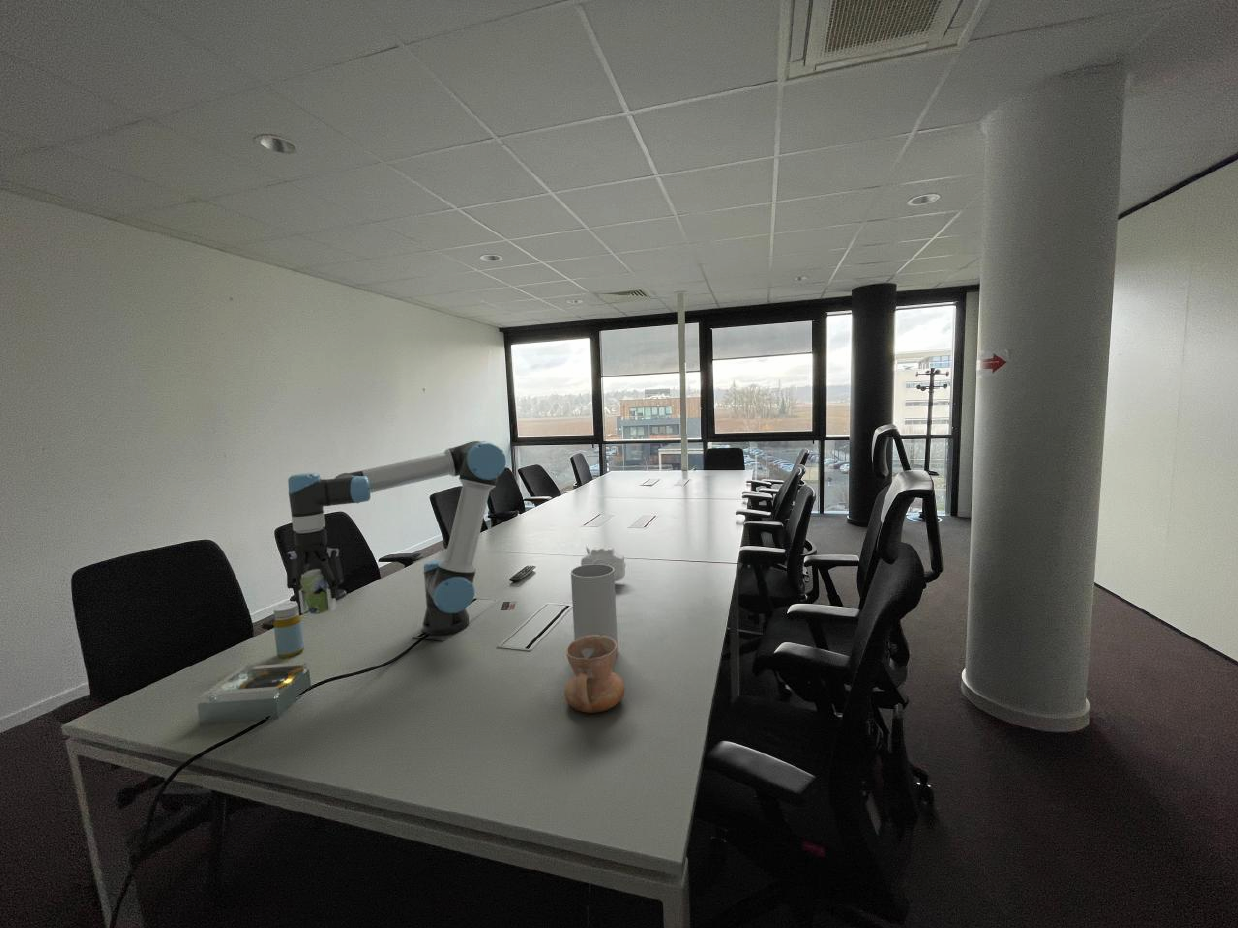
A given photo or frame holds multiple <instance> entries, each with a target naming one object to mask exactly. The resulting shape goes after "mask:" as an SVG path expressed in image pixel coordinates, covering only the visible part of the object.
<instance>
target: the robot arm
mask: <svg viewBox="0 0 1238 928" xmlns="http://www.w3.org/2000/svg"><path fill="white" fill-rule="evenodd" d="M506 461H507V460H506V456H505V453H504V451H503V450H502V448H500V446H499V445H497V444H495V443H494V442H491V441H485V440H481V441H479V440H475V441H469V442H466V443H464V444H463V443H462V444H461V445H458V446H454V447H449V448H446V449H445V450H444V451H443V452H442V453H436V454H432V455H427V456H422V457H417V458H413V459H408V460H404V461H399V462H395V463H390V464H385V465H381V466H376V467H372V468H371V467H370V468H367V469H362V470H358V471H357V470H356V471H353V472H344V473H341V474H340V473H339V474H338V475H337V476H335V477H334V478H329V479H325V478H323V479H322V478H321V476H320V473H318V472H311V473H310V472H309V473H299V474H293V475H290V476H289V477H288V479H287V482H288V485H287V486H288V497H289V503H290V504H289V505H290V511H291V521H292V530H293V531H294V534H293V537H294V545H295V546H296V547H295V550H294V551H292V550H291V551H289V552H287V553H285V554H284V558H285V561H286V587H287V588H288V589H294V590H295V596H296V601H297V602H299V606H300V614H305V613H306V612H309V609H308V606H307V603H306V599H305V596H304V593H303V589H302V586H301V583H300V579H301V575H303V574H304V573H305V572H307V571H309V566H310V565H311V564H315V565H316V567H319V568H318V569H320V570H321V572H322V574H323V575H324V577H325V579H326V581H327V583H328V586H329V587H328V588H327V589H326V591H327V600H328V609H329V610H328V612H332V611H334V610H335V609H336V608H337V600H336V599H337V597H338V596H339V591H338V586H339V585H340V584H341V585H342V583H344V582H345V578H344V574H343V573H344V572H343V569H342V565H341V560H340V552H341V549H340V548H339V547H337V548H330V547H329V546H328V543H327V542H328V536H327V535H328V534H327V529H326V528H325V526H326V520H325V519H326V518H325V510H324V507H331V506H340V505H347V504H348V505H349V504H350V505H351V504H359V503H365V502H369V501H370V500H371V494H373V493H377V492H380V491H385V490H389V489H393V488H397V487H402V486H407V485H410V484H415V483H419V482H422V481H423V482H424V481H428V480H432V479H436V478H441V477H446V476H451V477H458V476H459V478H458V480H459V481H460V483H461V485H462V486H461V487H462V488H461V491H460V494H459V499H458V502H457V507H456V511H455V515H454V519H453V524H452V527H451V532H450V536H449V540H448V544H447V547H446V552H445V556H444V558H441V559H436V560H431V561H428V562H426V563H425V564H424V565H423V573H422V574H423V576H424V579H423V581H424V590H425V591H424V592H425V600H426V602H425V603H426V608H425V613H424V615H423V621H422V631H423V633H424V634H426V635H429V636H444V635H451V634H454V633H457V632H460V631H463V629H466V628H467V627H468V626H469V624H470V614H469V612H468V610H467V608H468V607H469V606H470V605H471V603H472V602H473V599H474V597H475V586H474V584H473V582H474V579H475V576H476V575H475V574H476V571H477V570H476V568H475V566H474V564H473V563H474V559H475V554H476V551H477V550H476V549H477V545H478V542H479V539H480V533H481V529H482V525H483V521H484V516H485V512H486V508H487V503H488V500H489V496H490V492H491V490H494V488H496V487H497V483H498V478H499V477H500V476H501V474H502V473H503V472H504V470H505V467H506ZM327 554H328V557H330V558H329V559H330V560H328V557H327ZM297 558H299V559H300V561H299V565H298V561H297ZM329 561H330V564H329V563H328V562H329ZM297 565H298V566H299V569H298V566H297ZM330 565H331V566H330Z"/></svg>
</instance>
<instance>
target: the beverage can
mask: <svg viewBox="0 0 1238 928" xmlns="http://www.w3.org/2000/svg"><path fill="white" fill-rule="evenodd" d="M300 583H301V586H302V589H303V593H304V596H305V599H306V603H307V606H308V609H309V610H308V612H309V613H310V614H313V615H320V614H323V613H326V612H329V609H328V600H327V591H326V589H327V588H328V587H329V585H328V583H327V581H326V579H325V577H324V575H323V574H322V572H321V570H320V568H313V569H311V570H308V571H307V572H305V573H304V574H303V575H301V579H300Z"/></svg>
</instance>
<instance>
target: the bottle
mask: <svg viewBox="0 0 1238 928" xmlns="http://www.w3.org/2000/svg"><path fill="white" fill-rule="evenodd" d="M273 614H274V615H273V616H274V621H273V630H274V639H275V640H274V641H275V650H276V654H277V657H279V658H280V659H288V658H292V657H295V656H298V655H300V654H301V653H302V652H303V651H304V650H305V645H304V644H305V643H304V636H303V626H302V618H301V616H300V614H299V604H298V603H297V602H289V603H284V604H281V605H278V606H275V607H273Z"/></svg>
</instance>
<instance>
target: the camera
mask: <svg viewBox="0 0 1238 928" xmlns="http://www.w3.org/2000/svg"><path fill="white" fill-rule="evenodd" d="M585 547H586V554H584V555H583V556H582V557H581V559H580V560H581V561H580V566H583V565H589V564H604V565H609V566H612V567H613V568H614V574H615V582H618V581H620V580H622V579H624V577H625V574H626V571H625V569H626V562H625V556H624V554H622V553H619V552H617V551H615V549H614V547H606V546H603V545H602V546H600V547H593V548H592V549H591V550H590V549H589V547H587V546H585Z"/></svg>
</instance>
